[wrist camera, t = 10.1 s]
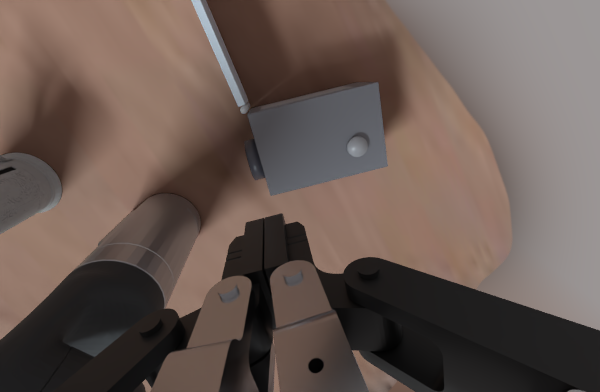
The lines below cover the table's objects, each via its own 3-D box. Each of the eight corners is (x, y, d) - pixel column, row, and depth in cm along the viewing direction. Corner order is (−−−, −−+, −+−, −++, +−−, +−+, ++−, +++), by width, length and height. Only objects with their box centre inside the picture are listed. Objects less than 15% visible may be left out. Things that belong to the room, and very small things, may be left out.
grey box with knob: (259, 178, 43) (258, 200, 35) (239, 110, 39) (232, 118, 31) (366, 151, 43) (389, 167, 35) (357, 81, 40) (380, 81, 32)
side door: (251, 107, 39) (248, 112, 32) (239, 112, 39) (233, 118, 33) (193, -29, 33) (176, -56, 26) (179, -23, 33) (158, -49, 27)
